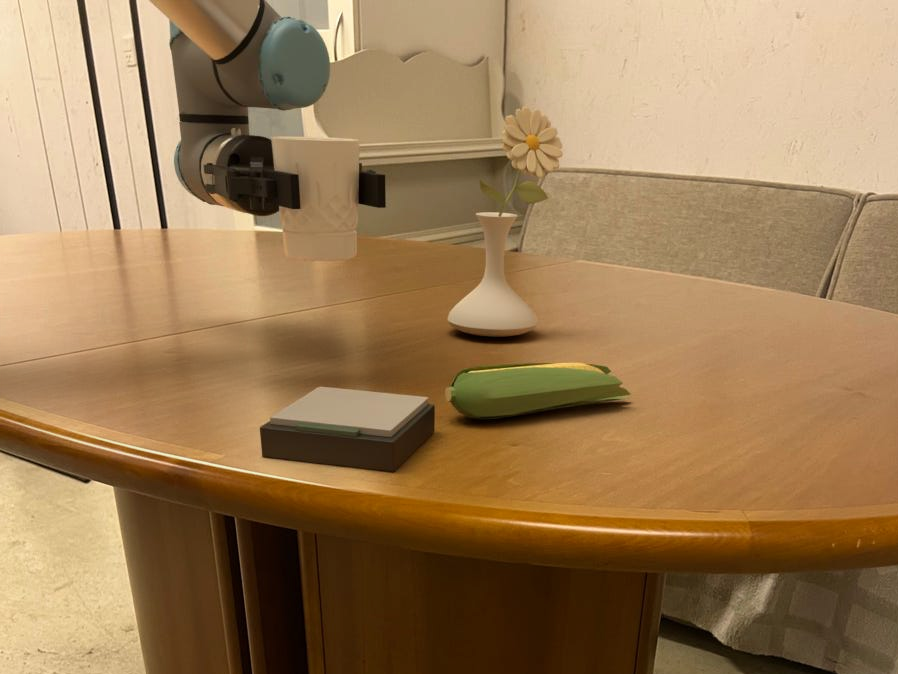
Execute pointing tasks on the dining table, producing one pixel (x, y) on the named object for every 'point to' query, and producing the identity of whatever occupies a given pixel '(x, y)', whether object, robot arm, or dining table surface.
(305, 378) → the dining table surface
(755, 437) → the dining table surface
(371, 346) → the dining table surface
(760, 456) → the dining table surface
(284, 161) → the white cup
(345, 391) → the scale
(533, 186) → the flower in vase
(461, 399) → the edible corn
